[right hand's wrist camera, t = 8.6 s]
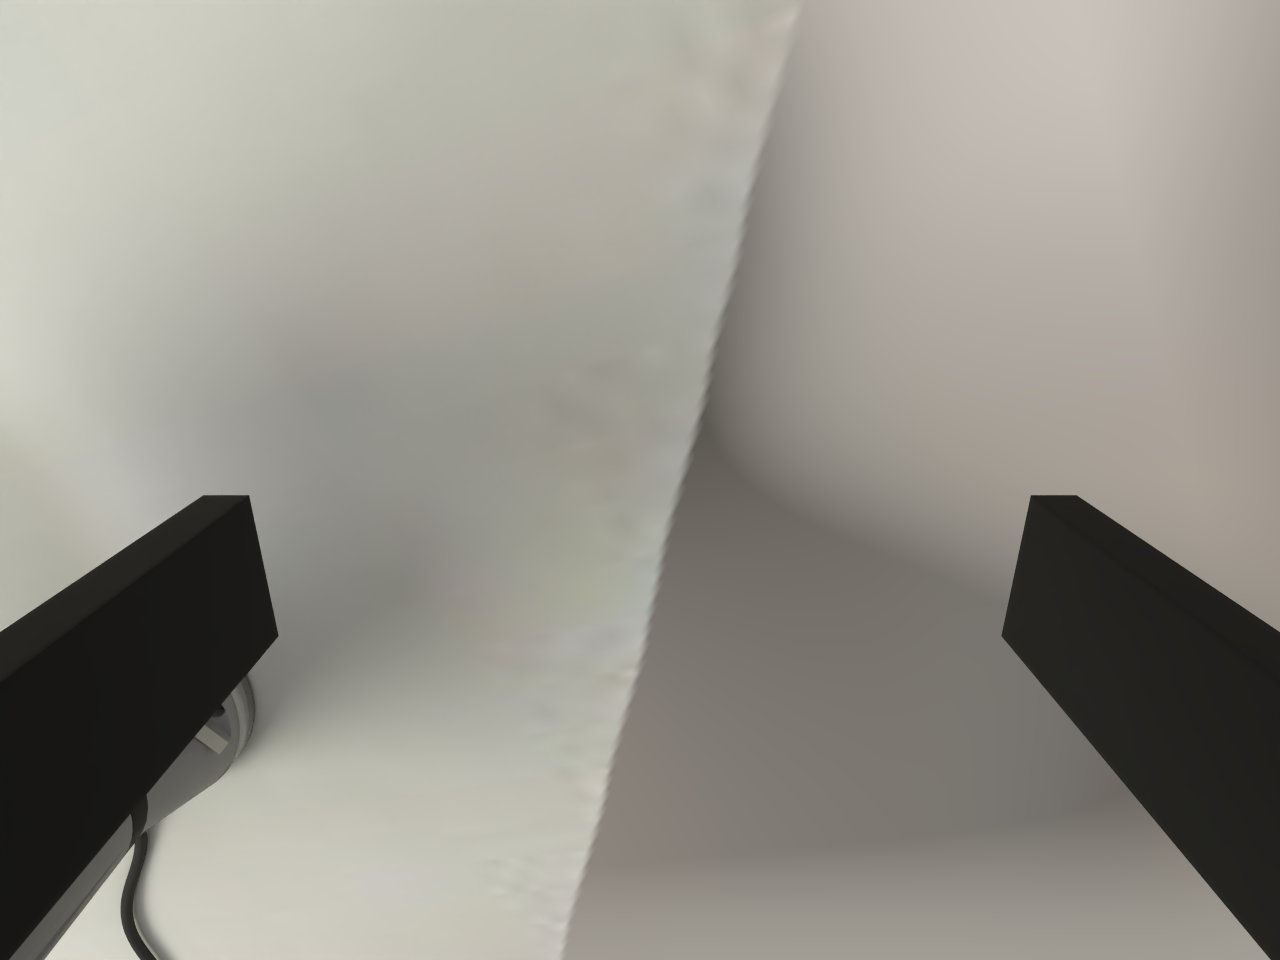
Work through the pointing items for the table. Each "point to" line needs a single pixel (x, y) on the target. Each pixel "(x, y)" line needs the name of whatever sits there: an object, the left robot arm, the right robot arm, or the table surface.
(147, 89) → the table surface
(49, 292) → the table surface
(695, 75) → the table surface
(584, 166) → the table surface
